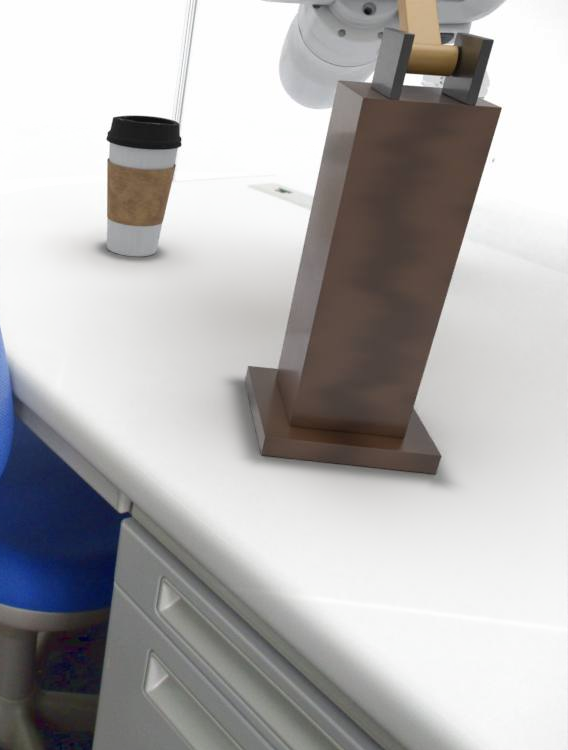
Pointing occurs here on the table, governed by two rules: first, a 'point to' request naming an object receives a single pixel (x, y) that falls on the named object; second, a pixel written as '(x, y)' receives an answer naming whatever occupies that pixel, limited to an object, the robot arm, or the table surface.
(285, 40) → the robot arm
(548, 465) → the table surface
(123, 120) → the coffee cup
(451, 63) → the lever
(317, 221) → the pedestal
